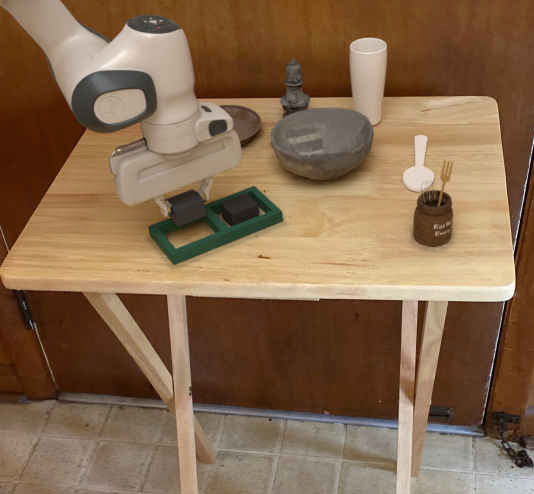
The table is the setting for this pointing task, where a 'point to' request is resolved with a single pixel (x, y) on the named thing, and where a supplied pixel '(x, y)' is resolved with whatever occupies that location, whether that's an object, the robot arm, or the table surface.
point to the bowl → (322, 141)
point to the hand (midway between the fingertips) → (185, 207)
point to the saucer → (243, 121)
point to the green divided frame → (216, 227)
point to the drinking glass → (368, 76)
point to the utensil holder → (434, 214)
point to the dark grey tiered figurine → (294, 90)
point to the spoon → (418, 168)
